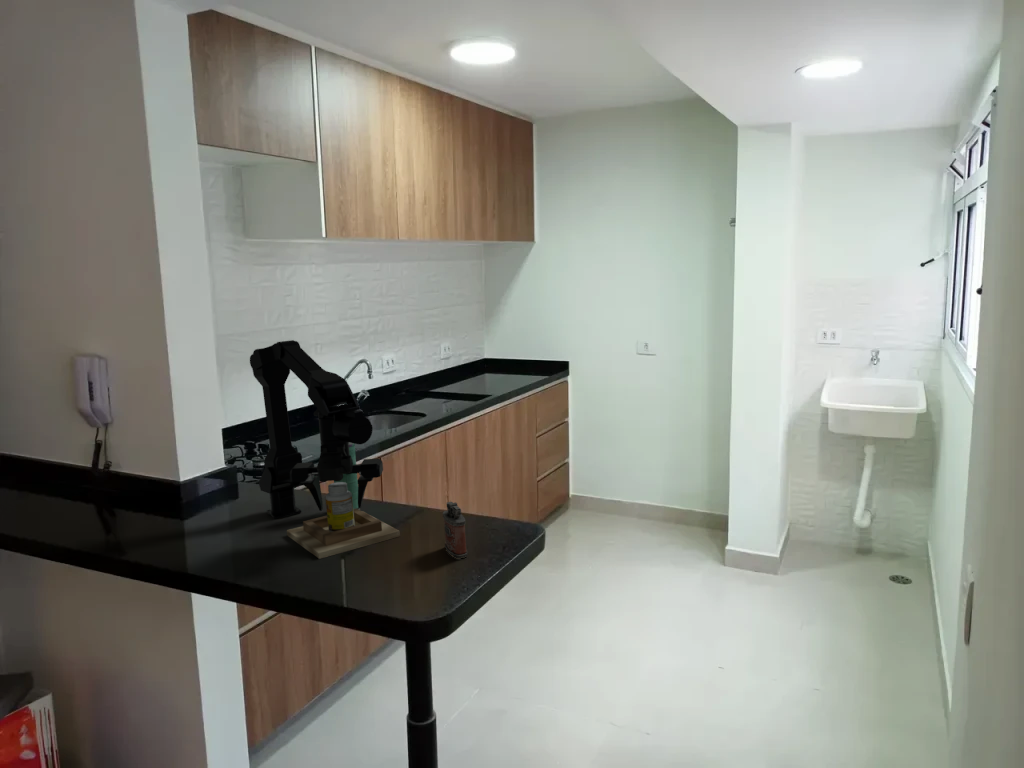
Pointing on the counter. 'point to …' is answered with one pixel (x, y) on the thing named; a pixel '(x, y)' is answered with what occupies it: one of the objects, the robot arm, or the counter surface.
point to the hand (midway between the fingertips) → (340, 509)
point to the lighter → (454, 531)
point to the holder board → (341, 535)
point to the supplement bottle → (339, 507)
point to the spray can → (352, 478)
